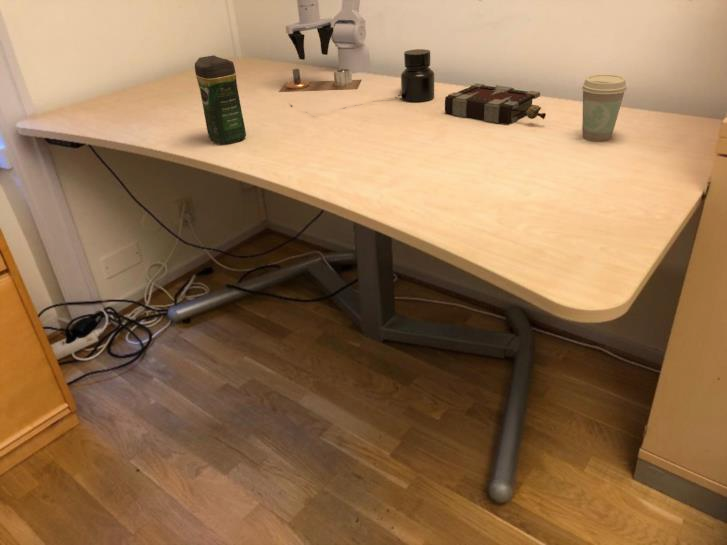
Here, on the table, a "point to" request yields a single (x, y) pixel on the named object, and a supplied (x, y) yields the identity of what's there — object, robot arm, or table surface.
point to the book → (493, 104)
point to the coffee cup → (601, 105)
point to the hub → (297, 81)
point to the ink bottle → (417, 76)
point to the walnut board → (323, 86)
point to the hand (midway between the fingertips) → (313, 56)
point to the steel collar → (343, 78)
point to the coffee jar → (220, 99)
